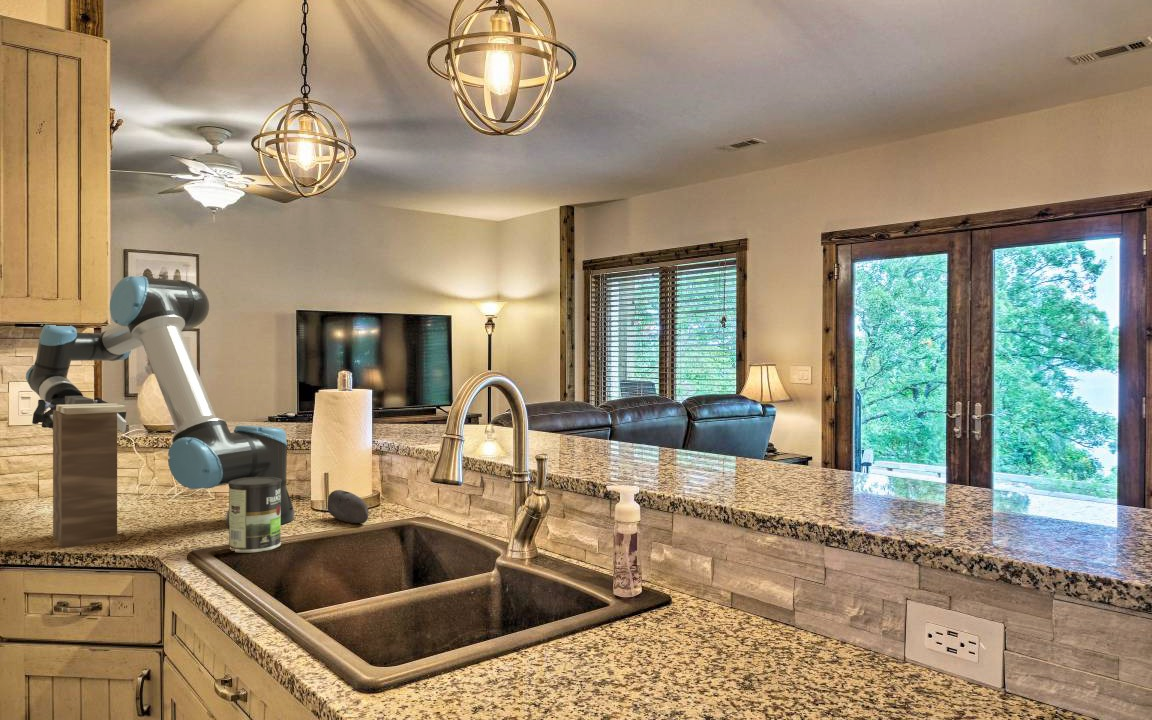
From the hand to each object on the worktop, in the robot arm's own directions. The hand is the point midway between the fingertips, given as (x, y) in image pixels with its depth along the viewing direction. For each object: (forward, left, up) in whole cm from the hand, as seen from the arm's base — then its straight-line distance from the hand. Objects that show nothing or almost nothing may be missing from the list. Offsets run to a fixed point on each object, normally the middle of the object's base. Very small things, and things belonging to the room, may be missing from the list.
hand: (93, 429), depth 181 cm
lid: (-15, +9, +6) cm, 18 cm away
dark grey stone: (-50, -35, -23) cm, 65 cm away
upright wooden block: (-16, +9, -22) cm, 29 cm away
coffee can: (-52, -8, -23) cm, 57 cm away
